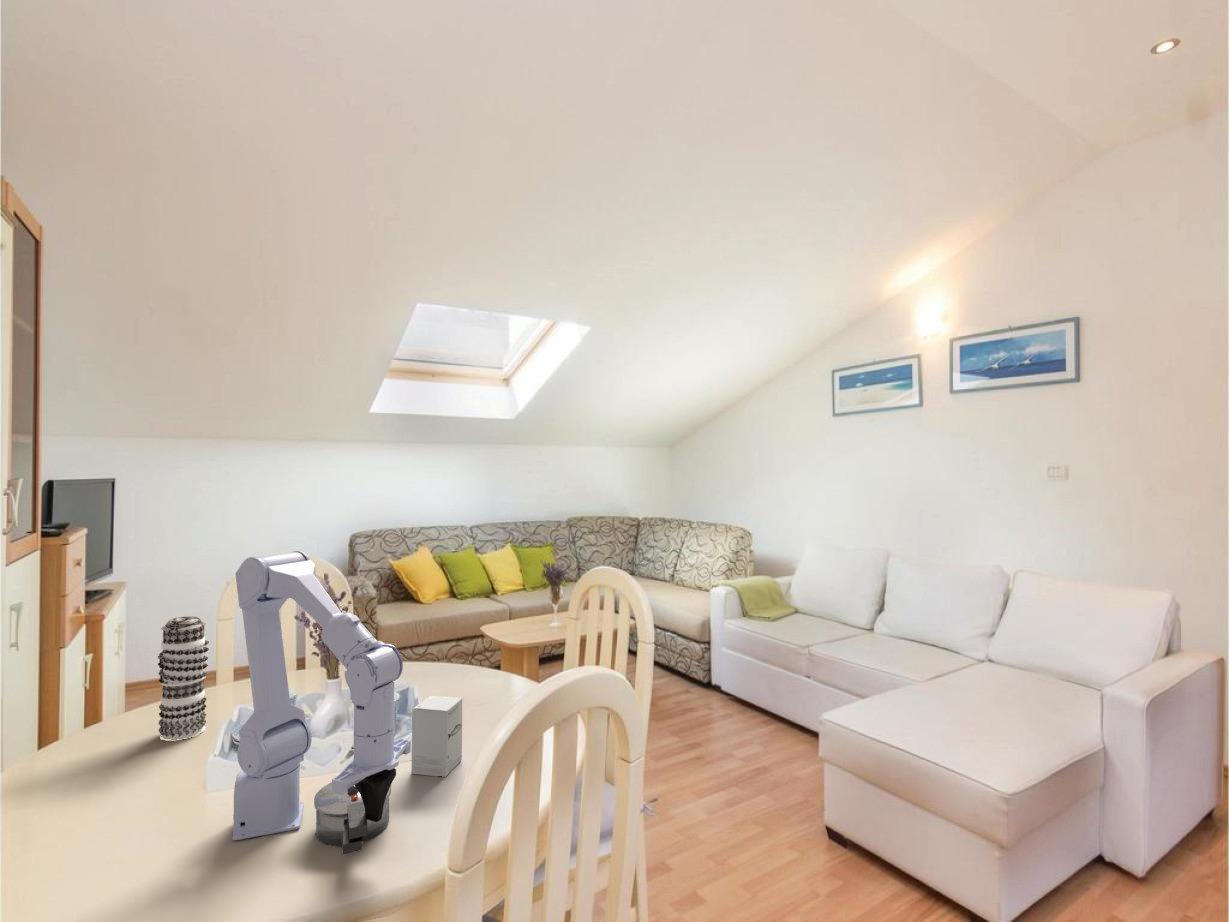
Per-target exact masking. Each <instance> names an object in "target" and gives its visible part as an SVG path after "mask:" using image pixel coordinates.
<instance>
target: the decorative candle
mask: <svg viewBox="0 0 1229 922" xmlns="http://www.w3.org/2000/svg"><path fill="white" fill-rule="evenodd" d="M205 625H206V622H204V621H202V620H201V619H200V617H199V616H198V617H197V616H191V615H190V616H189V615H188V616H180V617H173V618H171V619H169V620H168V621H166V623H165V625H164V626H162V627H160V630H161V631H162V641H161V650H162V651H161V652H159V654H158V656H157V659H158V660H159V662H158V663H157V666H158V667H159V668H160V670H159V672H158V676H159V677H160V678H159V679H158V682H159V685H160V686H162V688H161V692H162V694H161V696H160V705H158V708H159V710H160V712H159V713H158V716H159V717H160V718H161V719H160V720H158V725H159V728H158V732H159V736H161V735H162V736H161V737H163V738H164V739H171V740H177V739H184V738H189V737H192V736H195V735H197V734H200V733H201V732H203V731H204V730H205V731H206V729H205V728H206V723H207V720H206V717H207V713H206V708H207V705H206V704H205V703H206V701H207V697H205V688H204V687H205V686H204V685H205V682H204V681H205V679H206V677H207V673H206V672H205V671H204V670H205V669H206V668H207V667H208V666H209V665H208V663H206V661H207V660H208V658H209V657H208V656H205V655H204V654H206V652H208V651H209V649H210V648H209V647H207V645H209V643H210V641H209V640H206V636H205ZM205 731H204V732H205ZM204 732H203V733H204ZM160 734H161V735H160ZM200 735H201V734H200Z"/></svg>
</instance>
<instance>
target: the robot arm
mask: <svg viewBox="0 0 1229 922" xmlns="http://www.w3.org/2000/svg"><path fill="white" fill-rule="evenodd" d="M316 569H317V566H316V564H315V563H314V562H313V560H311V558H310V557H309V556H308V554H307V553H306V552H304V551H302V550H294V551H292V552H285V553H279V554H271V555H270V554H269V555H262V556H250V557H247V558H246V559H244V560H243V562H242V563H241V564H240V566H239V568H238V569H237V571H235V573H234V574H235V584H236V591H237V598H238V599H237V600H238V607H239V609H241V610H242V611H241V612H242V619H243V620H242V621H243V629H244V637H245V644H246V645H245V646H246V651H247V652H246V653H247V662H248V671H249V678H250V687H251V695H252V702H253V704H252V705H253V712H252V714H251V715H250V716H249V717H248V719H247V720H246V721H245V722H244V723H243V725H242V726H241V727H240V728H239V730H238V733H239V742H238V743H239V744H238V749H237V753H236V754H237V756H236V757H237V761H238V762H237V763H238V765H239V768H240V769H241V770H242V771H240V772H238V773H237V774H236V778H235V782H234V788H233V790H234V791H233V819H232V820H233V824H232V825H233V828H232V829H233V833H232V834H233V835H232V841H239V840H245V839H249V838H250V839H251V838H256V837H262V836H267V835H272V834H278V833H283V832H288V831H294V830H298V829H299V828H301V824H302V817H303V811H304V806H305V805H304V802H300V793H301V791H300V788H301V787H300V782H301V780H300V775H301V773H300V771H301V770H300V769H301V768H300V767H301V766H300V764H301V763H302V762H304V761H305V754H307V752H308V751H309V750H310V748H311V746H312V730H311V728H310V726H309V724H308V721H307V719H306V714H305V710H304V709H303V708H302V707H301V708H300V707H298V706H296V705H294V704H292V703H291V698H290V696H291V695H290V690H289V689H290V688H289V682H288V674H287V672H288V671H287V664H286V659H285V658H286V657H285V650H284V648H285V647H284V641H283V632H282V626H281V624H282V623H281V617H280V609H281V608H282V607H283V606H284V604H285V603H286V601H288V599H292V600H293V601H294V602H295V603H296V604H297V605H298V606H300V607H301V608H302V609H303V611H304V612H306V614H308V616H309V617H311V618H312V619H313V620H314V621H315V622H316V623H317V625H319V626H320V627H321V628H322V629H321V630H322V631H321V641H322V642H323V643H324V644H325V646H327V648H328V649H329V651H331V652H332V654H333V655H334V656H335V657H336V658H337V659H338V661H339V662H340V663H341V665H342V666H343V667H344V668H345V671H344V679H345V682H346V685H347V686H348V689H349V691H350V692H349V693H350V700H351V703H352V704H353V759H352V760H351V761H350V762H349V763H348V764H347V766H345V767H344V768H343V769H342V771H341V772H340V773H339V774H337V776H335V777H333V778H332V779H331V782H332V793H335V794H338V795H344V794H346V793H347V792H348V789H349V788H350V787H352V786H353V785H355V787H356V788H357V790H358V791H359V793H360V795H361V798H362V800H363V803H364V807H365V813H366V818H367V820H370V821H374V822H378V821H379V820H381V818H382V813H383V806H384V803H385V799H386V796H387V793H388V790H389V788H390V786H391V787H392V783H393V781H394V780H395V778H396V777H397V769H396V767H398V766H399V758H400V756H402V755H405V756H406V755H408V754H410V753H412V739H411V740H410V739H405V738H399V739H397V740H396V741H395V681H396V680H398V679H399V678H400V677H401V675H402V673H403V671H404V670H403V669H404V663H403V657H402V655H401V653H400V652H399V650H398V649H397V647H396V646H395V645H393V644H391V643H385V642H383V641H382V640H377V639H376V637H374V636H373V634H372V633H371V632H370V631H369V630H368V629H367V628H366V626H365V625H364V624H363V623H362V622H361V618H359V616H357V615H356V614H354V613H350V612H347V613H344V612H343V613H342V612H341V610H340V609H339V607H338V606H337V605H336V603H335V602H334V600H333V599H332V598H331V596H330V594H329V593H328V592H327V591H326V589H325V588H324V586H323V585H322V584H321V583H320V581H319V580H318V578H317V577H316V575H317V574H316V571H317V570H316Z"/></svg>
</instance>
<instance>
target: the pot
mask: <svg viewBox="0 0 1229 922" xmlns="http://www.w3.org/2000/svg"><path fill="white" fill-rule="evenodd" d="M315 815H316V816H315V835H316V837H315V838H316V839H317V841H319V843H322V844H323V845H326V846H329V845H331V847H342V855H346V854H347V855H348V854H351V853H357V852H361V851H362V852H363V843H365V842H367V841H370V840H372V839H374V838H376V837H377V836H379V835H380V834H382V833H383V832H384V831H385V830H386V828H387V827H388V825H389V824H390V797H389V798H388V799H387V800H386V801H385V803H384V806H383V813H382V818H381V820H379V821H378V822H374V821H370V820H367V836H362V837H358V838H353V839H349V829H348V819H347V816H329V815H325V814H322V813H320V812H318V811H317V810H316V809H315Z"/></svg>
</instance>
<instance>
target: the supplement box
mask: <svg viewBox="0 0 1229 922" xmlns="http://www.w3.org/2000/svg"><path fill="white" fill-rule="evenodd" d="M462 752H463V697H454V696H444V695H443V696H441V695H440V696H439V695H429V696H428V697H426V698H425V699H424V700H422V701H420V702H419V703H418V704H417V705H415V706H414V707H413V708H412V711H411V772H410V773H411V774H414V775H420V776H431V777H437V776H442V777H441V778H447V776H448V775H449V774H450V773H451V771H453V769H455V767H456V766H457V765H458V764H460V763H461V761H462V760H463V758H462V757H463V755H462V754H463V753H462Z"/></svg>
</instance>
